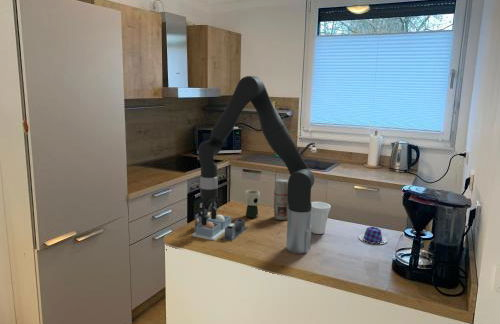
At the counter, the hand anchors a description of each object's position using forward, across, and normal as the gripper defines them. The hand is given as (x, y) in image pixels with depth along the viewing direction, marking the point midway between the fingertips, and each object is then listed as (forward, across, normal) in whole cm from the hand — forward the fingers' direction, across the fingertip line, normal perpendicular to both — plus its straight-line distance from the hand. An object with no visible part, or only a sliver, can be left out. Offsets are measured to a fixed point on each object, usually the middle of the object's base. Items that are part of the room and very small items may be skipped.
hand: (208, 221), depth 174 cm
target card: (+6, +5, +6) cm, 10 cm away
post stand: (+6, +6, -10) cm, 13 cm away
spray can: (+6, +35, -22) cm, 42 cm away
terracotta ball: (+3, 0, 0) cm, 3 cm away
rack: (+6, +5, 0) cm, 8 cm away
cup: (+6, +25, -43) cm, 50 cm away
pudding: (+6, +28, -67) cm, 73 cm away
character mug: (+6, +30, -8) cm, 32 cm away
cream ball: (+3, +10, 0) cm, 10 cm away
